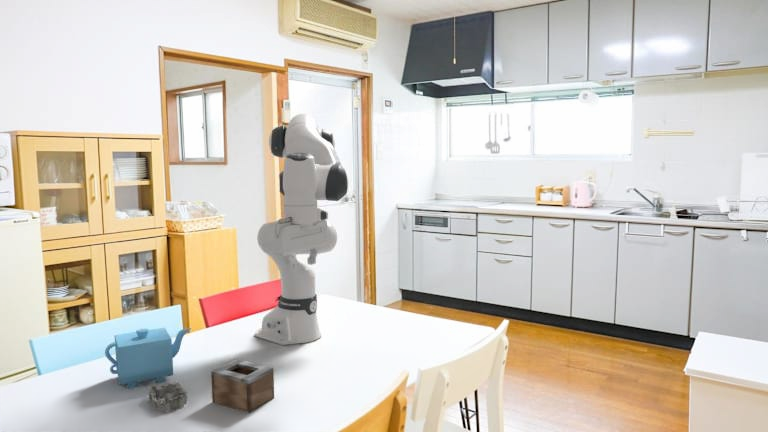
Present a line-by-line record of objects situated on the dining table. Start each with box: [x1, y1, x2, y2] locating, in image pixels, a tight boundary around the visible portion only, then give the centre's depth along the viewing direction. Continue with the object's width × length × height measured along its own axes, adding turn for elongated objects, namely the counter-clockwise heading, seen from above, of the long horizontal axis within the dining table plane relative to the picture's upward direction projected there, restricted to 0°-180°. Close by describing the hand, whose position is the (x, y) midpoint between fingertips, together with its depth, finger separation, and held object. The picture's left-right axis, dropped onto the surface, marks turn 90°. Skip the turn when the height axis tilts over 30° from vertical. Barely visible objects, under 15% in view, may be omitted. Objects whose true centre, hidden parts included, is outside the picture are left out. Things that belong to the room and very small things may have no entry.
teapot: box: [104, 327, 192, 389], centre depth 151 cm, size 22×11×14 cm, turn 120°
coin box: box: [210, 358, 275, 414], centre depth 137 cm, size 12×9×8 cm
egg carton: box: [147, 381, 188, 413], centre depth 137 cm, size 11×8×4 cm
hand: (301, 267), depth 146 cm, fingers open, 8 cm apart
